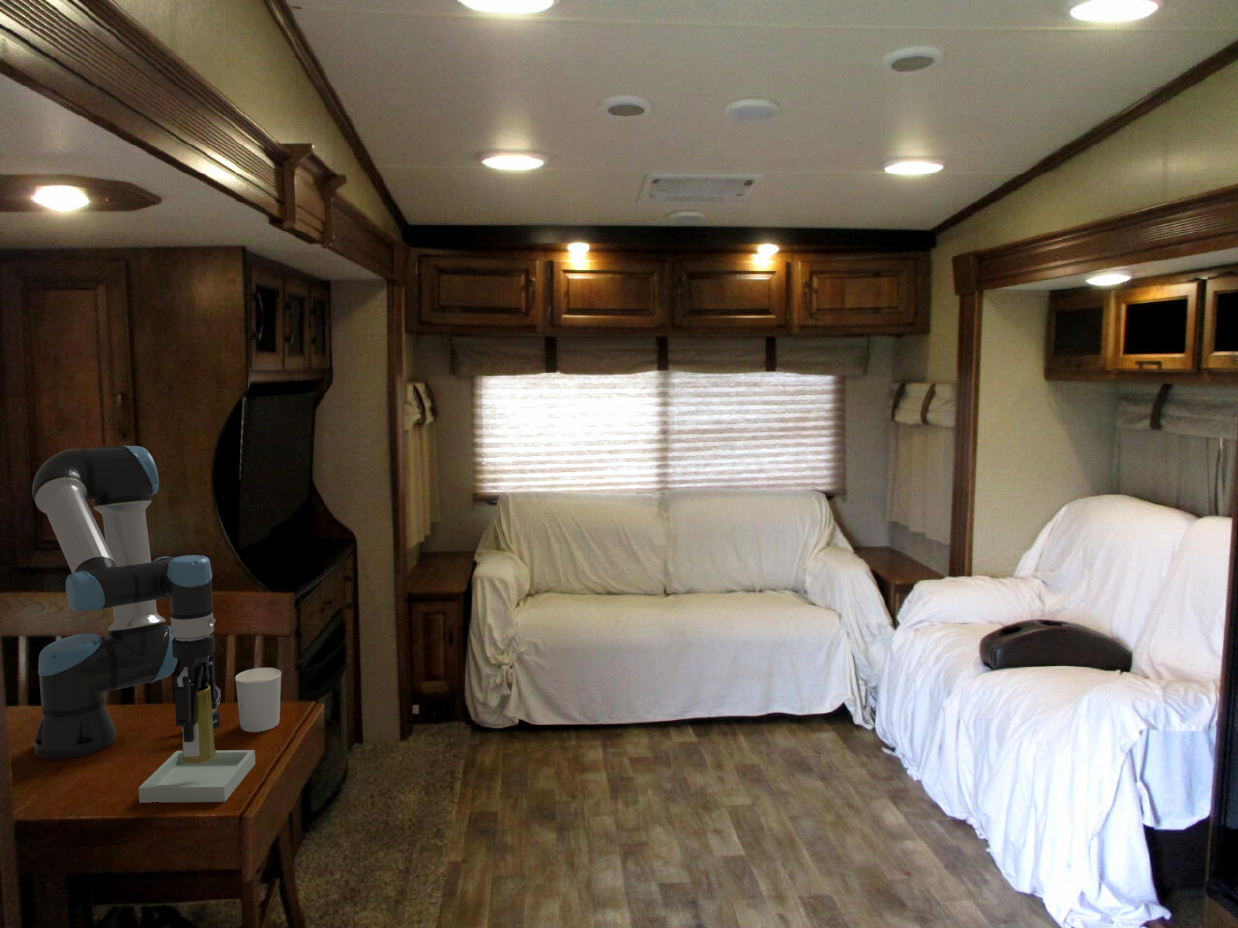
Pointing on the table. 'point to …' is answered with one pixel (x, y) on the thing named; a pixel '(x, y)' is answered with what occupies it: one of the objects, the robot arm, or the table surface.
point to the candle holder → (259, 698)
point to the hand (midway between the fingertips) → (198, 748)
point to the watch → (214, 714)
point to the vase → (203, 728)
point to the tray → (197, 778)
